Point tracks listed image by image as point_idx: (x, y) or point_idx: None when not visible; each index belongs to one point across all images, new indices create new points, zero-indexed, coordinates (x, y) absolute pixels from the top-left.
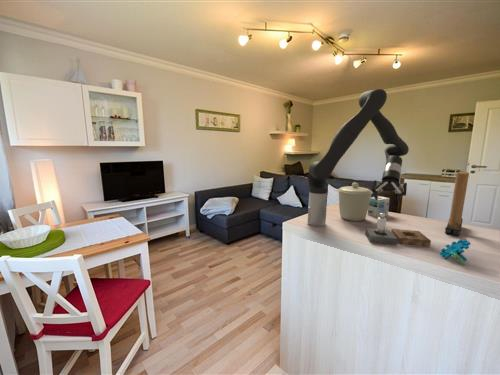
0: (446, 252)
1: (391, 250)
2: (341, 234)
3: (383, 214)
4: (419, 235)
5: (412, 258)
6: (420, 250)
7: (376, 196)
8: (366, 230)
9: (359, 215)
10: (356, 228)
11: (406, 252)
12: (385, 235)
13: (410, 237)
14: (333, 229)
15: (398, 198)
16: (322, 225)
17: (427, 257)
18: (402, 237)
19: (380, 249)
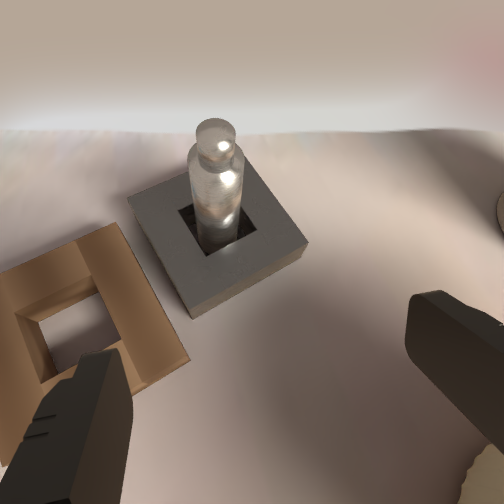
0: None
1: (145, 154)
2: (369, 177)
3: (204, 122)
4: (8, 348)
5: (66, 135)
6: (32, 234)
7: (441, 298)
8: (291, 223)
9: (488, 479)
10: (377, 315)
11: (89, 173)
12: (186, 202)
13: (63, 264)
14: (434, 209)
15: (75, 376)
16: (498, 208)
17: (10, 179)
18: (104, 232)
19: (182, 136)
